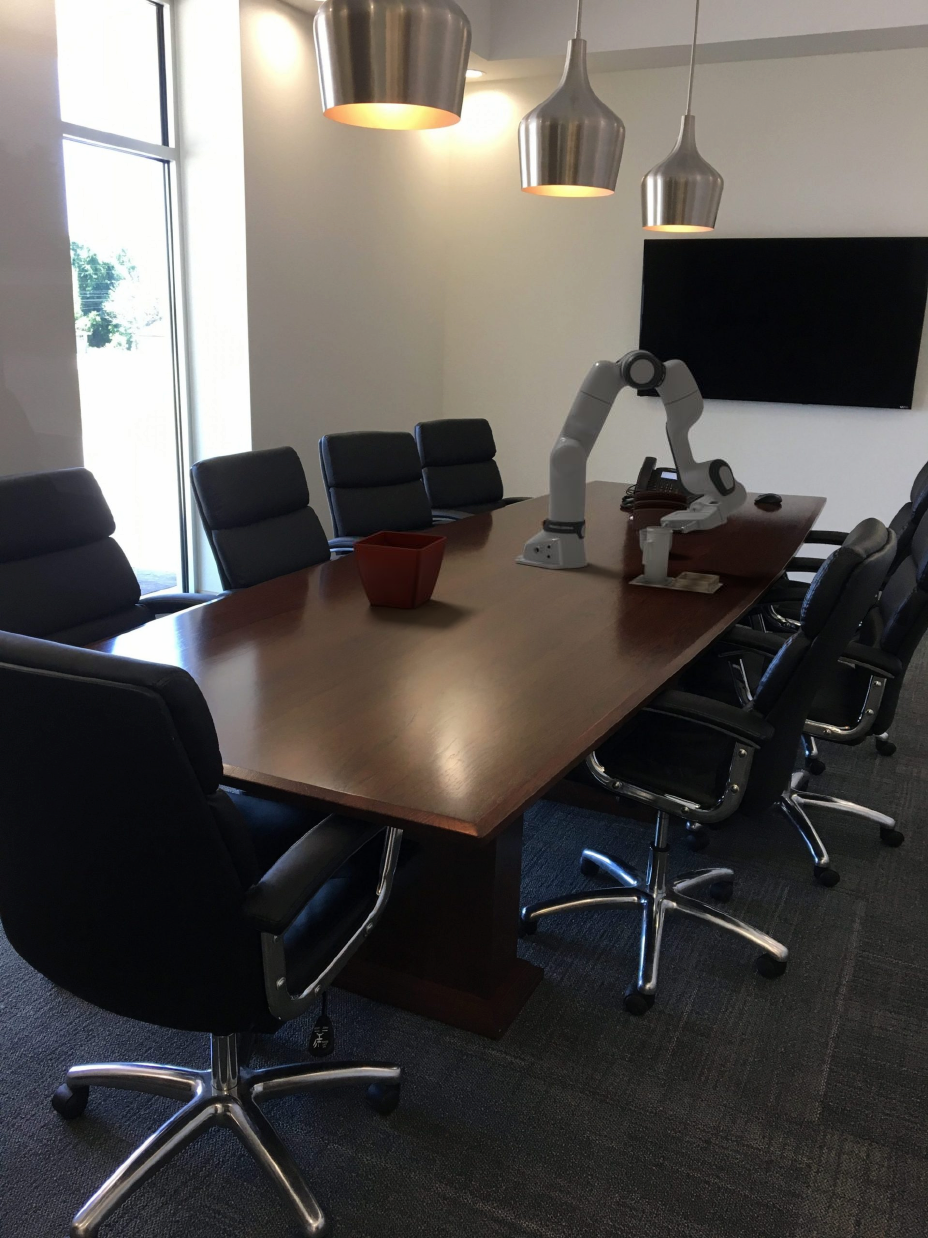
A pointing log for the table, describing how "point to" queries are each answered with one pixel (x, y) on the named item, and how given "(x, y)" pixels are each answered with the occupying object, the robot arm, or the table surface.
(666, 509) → the letter holder
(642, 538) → the teacup
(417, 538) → the plant pot
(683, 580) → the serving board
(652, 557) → the tall white canister
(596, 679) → the table surface
